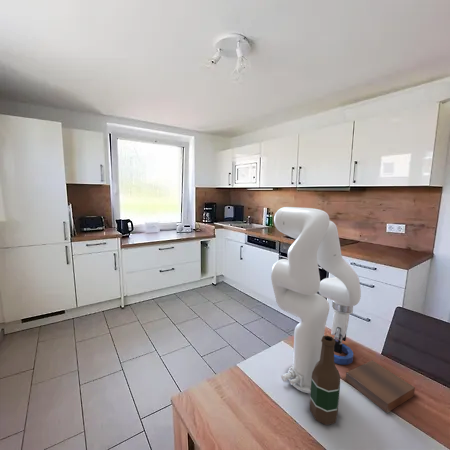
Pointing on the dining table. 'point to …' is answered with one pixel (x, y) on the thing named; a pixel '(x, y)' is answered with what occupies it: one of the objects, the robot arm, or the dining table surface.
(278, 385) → the dining table surface
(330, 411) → the beer bottle
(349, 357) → the ring
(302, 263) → the robot arm
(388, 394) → the platform
